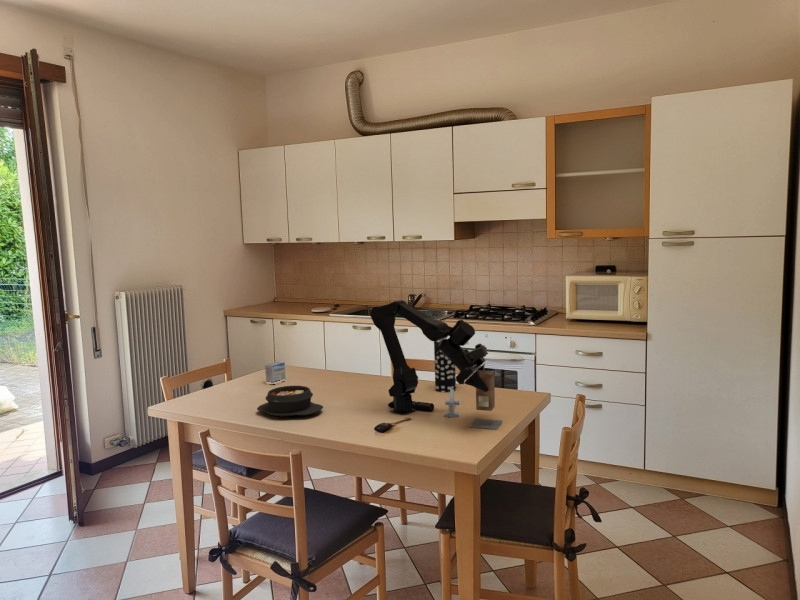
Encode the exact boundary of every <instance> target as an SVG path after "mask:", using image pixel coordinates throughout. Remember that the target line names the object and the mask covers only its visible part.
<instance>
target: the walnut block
mask: <svg viewBox="0 0 800 600" xmlns="http://www.w3.org/2000/svg"><path fill="white" fill-rule="evenodd" d="M479 377H480V378H481V379H482V381H483V382H484V384H485V385H486V386H487V388H488V389H489V390H488V391H487V392H485V391H483V390H480V389H478V388H476V387H475V405H476V406H475V408H476V409H475V410H476V411H477V410H478V411H487V412H492V411H493V409H495V407H496V405H495V403H496V402H495V399H496V396H495V395H496V392H495V388H496V387H495V370H485V369H484V370H479Z"/></svg>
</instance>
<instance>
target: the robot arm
mask: <svg viewBox="0 0 800 600" xmlns="http://www.w3.org/2000/svg"><path fill="white" fill-rule="evenodd" d="M370 311H371V312H370ZM370 311H369V312H370V313H369V314H370V319H371V320H372V321H371V322H373V325H374V326H375V327H376V328H377V329H378V330H379V331H380V332H381V335H382V337H383V341H384V344H385V347H386V350H387V353H388V355H389V359H390V361H391V364H392V367H393V373H392V381H393V384H392V386H391V387H390V388H389V389H388V394H389V396H390V397H393V399H392V400H393V409H391V410H390V412H392V413H394V414H399V415H406V414H409V413H412V412H415V411H416V409H415V408H413V398H412V394H414V393H416V389H417V387H418V385H419V377H418V374H417V371H416V368H415V367H412V368H411V367H410V366H409V365H408V363H407V360H406V357H405V354H404V352H403V349H402V347H401V343H400V340H399V338H398V334H397V331H396V328H395V324H396V315H399V316H400V317H402V318H404V319H406V320H407V321H408V322H410V323H412V324H413V325H415V327H417V328H419V329H420V330H421V332H422V334H423V335H424V336H425V337H426V338H427V339H428V340H429V341H431V342H434V341H438V340H442V339H444V340H443V341H442V342H441V343H437V344H436V345H435V353H438V352H439V351H440V350H441V351H442V352H443V353H444V355H445V356H446V357H447V358H448V359H449V360H450V361H451V363H450V364H451V365H455V368H457V369H458V370H459V371H458V374H456V383H458V384H459V385H462V384H464V385H467V386H471V387H474V388H475V389H476V388H478V389H480V390H483V391H485V392H487V391H488V390H489V389H488V388H487V386H486V385H485V384H484V382H483V381H482V379H481V378H480V377H479V370H485V366H486V365H485V362H486V361H487V360H486V359H485V357H487V355H489V353H488V350H487V349H488V347H487V346H486V345H484V344H482V343H477V344H476V345H475V347H474V349H472V350H470V351H469V349H467V348H465V349H464V348H463V347H464V346H465V345H466V344H467V343H468V342H469V341H470V340H471V339H472V338H473V337H474V336H475V334H476V330H475V328H474V327H473V326H472V325H471V324H469V323H468V322H465V321H464V319H458V320H457V322H456V323H455V324H454V325H453V326H450V325H448V324H447V322H444V321H442V320H439V319H435V318H431V317H428V316H427V315H425V314H424V313H423V312H421V311H419V310H418V309H416V308H415V307H413V306H411V305H410V304H408V303H407V302H406V301H405V300H403V299H401V300H399V299H398V300H394V301H393V302H391V303H388V304H383V305H382V304H381V305H377V306H374V307H372V309H371V310H370Z"/></svg>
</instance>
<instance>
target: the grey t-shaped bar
mask: <svg viewBox="0 0 800 600" xmlns="http://www.w3.org/2000/svg"><path fill="white" fill-rule="evenodd" d="M454 392H455V391H454V389H450V392H449V400H445V406H447V405H448V406H449V408H448V409H449V412H444V414H443V418H459V417H460V412H454V409H455V408H454V407H455V406H456V405H460V400H455V393H454ZM454 405H455V406H454Z"/></svg>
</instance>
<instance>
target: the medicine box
mask: <svg viewBox="0 0 800 600" xmlns="http://www.w3.org/2000/svg"><path fill="white" fill-rule="evenodd" d="M264 368H265V383H266V382H271V383H274V382H277V381H280V380H283V379H286V380H287V378H286V365H285V361H284V362H283V361H277V362H273V363H268V364H266V365H265V366H264Z"/></svg>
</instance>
